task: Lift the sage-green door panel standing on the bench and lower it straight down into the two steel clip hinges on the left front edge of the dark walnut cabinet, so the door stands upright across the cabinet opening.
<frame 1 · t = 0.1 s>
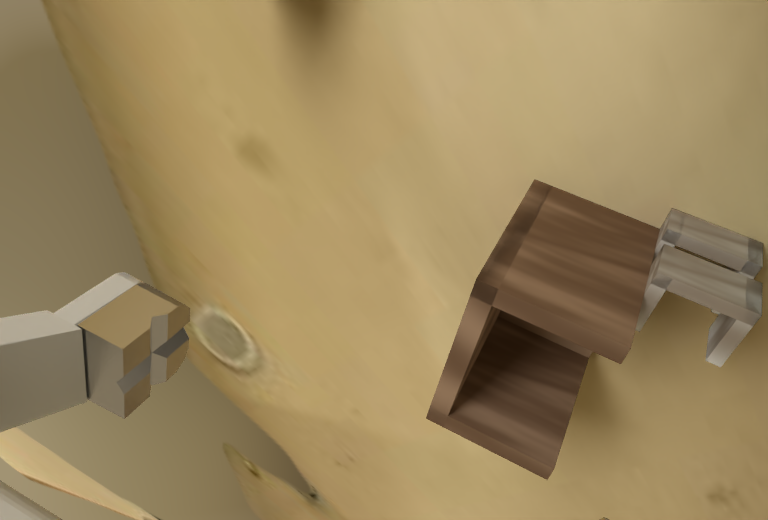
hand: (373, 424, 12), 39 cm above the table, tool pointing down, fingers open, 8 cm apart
cabinet: (562, 274, 55), on the table
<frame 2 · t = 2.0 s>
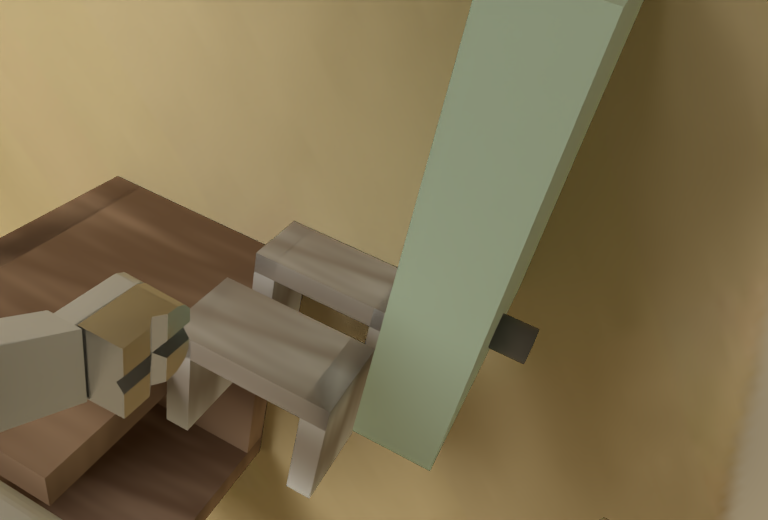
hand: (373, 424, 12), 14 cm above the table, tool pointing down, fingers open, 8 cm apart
door: (546, 132, 23), on the table
cabinet: (195, 326, 36), on the table
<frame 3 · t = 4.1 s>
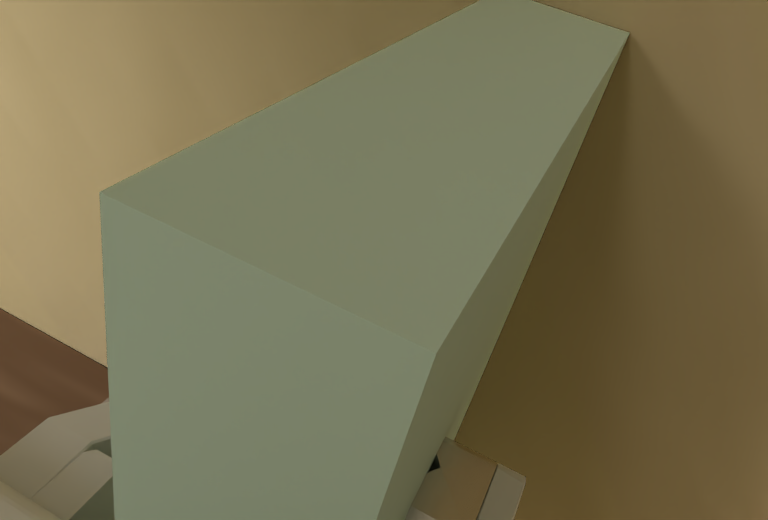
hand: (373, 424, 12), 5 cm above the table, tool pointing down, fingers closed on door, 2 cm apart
door: (463, 283, 16), on the table, touching gripper
cabinet: (63, 458, 29), on the table
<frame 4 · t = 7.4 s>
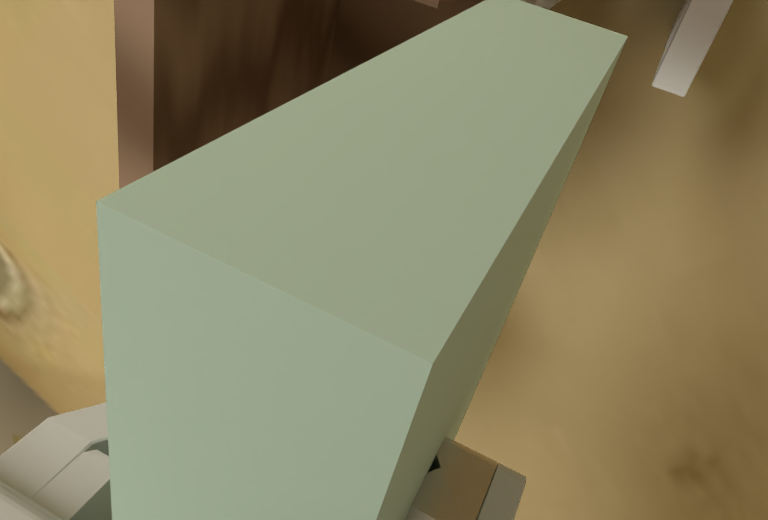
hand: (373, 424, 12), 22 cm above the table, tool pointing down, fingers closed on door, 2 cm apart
door: (462, 286, 16), point 17 cm above the table, touching gripper
cabinet: (411, 54, 31), on the table
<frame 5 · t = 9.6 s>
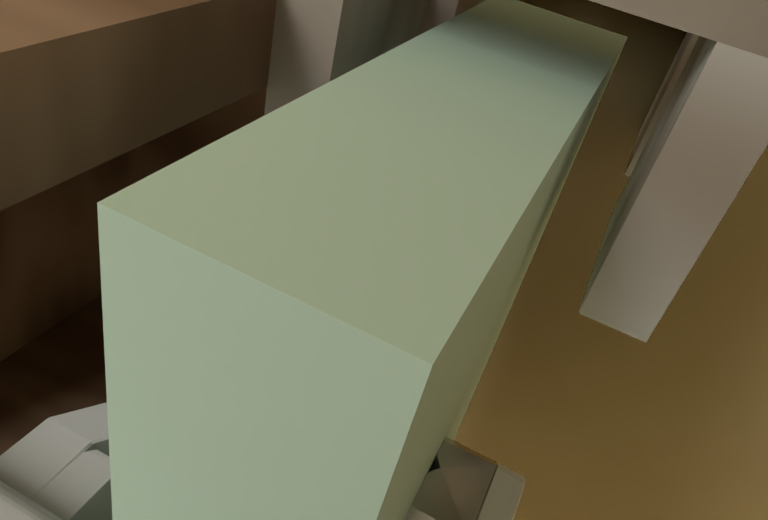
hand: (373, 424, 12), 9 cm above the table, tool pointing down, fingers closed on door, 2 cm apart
door: (462, 286, 16), point 4 cm above the table, touching gripper
cabinet: (261, 141, 21), on the table
when the fingers open (6 cm above the table, at t = 11.2 s): door drops 1 cm, on the table.
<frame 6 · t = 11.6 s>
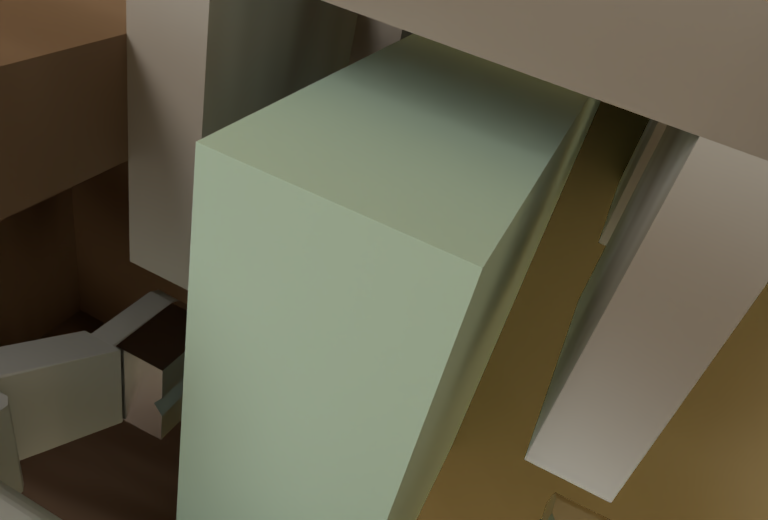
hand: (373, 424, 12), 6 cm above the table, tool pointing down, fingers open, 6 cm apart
door: (475, 263, 17), on the table
cabinet: (203, 179, 19), on the table
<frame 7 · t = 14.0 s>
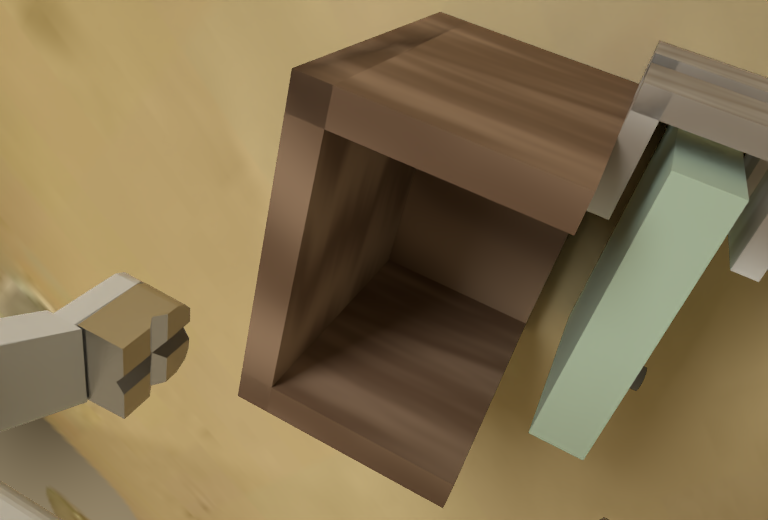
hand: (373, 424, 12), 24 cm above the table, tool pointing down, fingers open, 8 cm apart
door: (643, 229, 33), on the table
cabinet: (484, 184, 35), on the table
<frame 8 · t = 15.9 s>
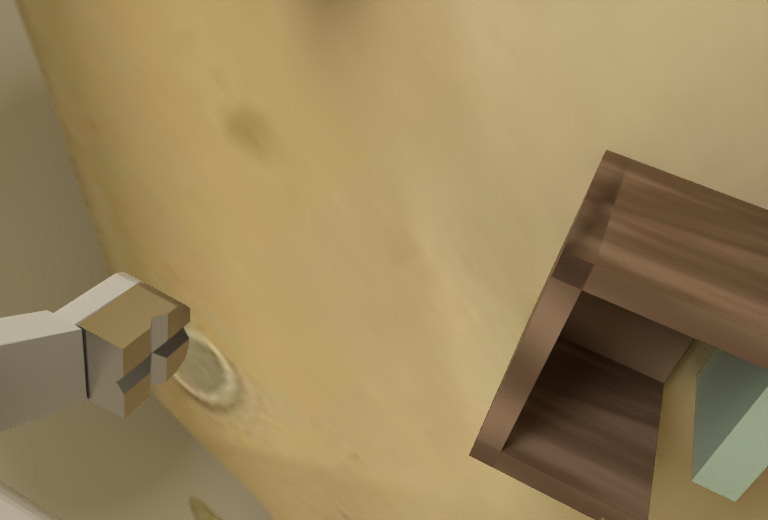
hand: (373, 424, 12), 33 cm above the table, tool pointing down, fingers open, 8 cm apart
door: (766, 314, 41), on the table
cabinet: (632, 275, 44), on the table
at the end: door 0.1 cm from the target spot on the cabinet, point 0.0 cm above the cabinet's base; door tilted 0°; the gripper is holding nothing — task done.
